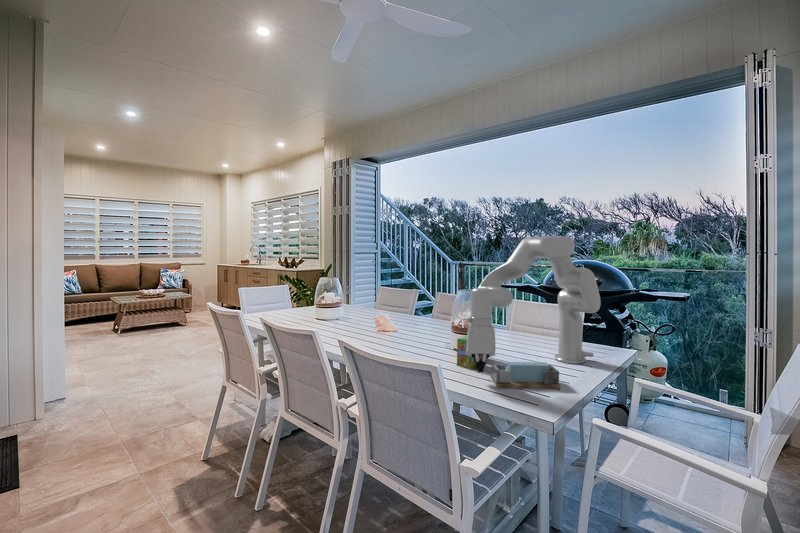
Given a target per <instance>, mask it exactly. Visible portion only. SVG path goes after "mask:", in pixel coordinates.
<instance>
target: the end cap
mask: <svg viewBox="0 0 800 533" xmlns="http://www.w3.org/2000/svg"><path fill="white" fill-rule="evenodd" d="M491 375H492V376H493V378H494V379H495V381H496V383H511V371H510V370H508V369H507V364H505V363H501V364H500V363H492V364H491Z"/></svg>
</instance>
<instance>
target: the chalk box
mask: <svg viewBox="0 0 800 533" xmlns="http://www.w3.org/2000/svg"><path fill="white" fill-rule="evenodd" d="M466 340H467V335H465V336H462V337H460V338H459V337H458V338H457V339H456V342H457V343H456V366H460V367H463V368H467V369H469V370H473V371H474V370H476V368H475V364H476V360H475V359H474V358H473V357H472V356H468V355H466V354H465V352H466ZM478 355H479V360H480V359H481V355H482V354H478ZM485 366H487V360H486V361H485V362H484V367H485Z"/></svg>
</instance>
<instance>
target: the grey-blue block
mask: <svg viewBox="0 0 800 533" xmlns="http://www.w3.org/2000/svg"><path fill="white" fill-rule="evenodd" d="M549 365H550V364H549V363H548V362H545V361H544V362H542V361H541V362H540V361H538V362H535V361H532V362H531V361H507V370H510V371H511V381H513V382H543V381H544V371H550V366H549Z"/></svg>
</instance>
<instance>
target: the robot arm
mask: <svg viewBox="0 0 800 533" xmlns="http://www.w3.org/2000/svg"><path fill="white" fill-rule="evenodd" d="M575 246H576V245H575V241H574V240H573V239H572V238H571V237H570V236H567V235H557V236H556V235H554V236H553V235H552V236H551V235H549V236H548V235H547V236H546V235H545V236H542V235H541V236H528V237H527V236H526V237H524V238H523V239H521V241H520V242H519V243H518V245H517V246H516V247H515V250H513V252H512V254H511V255H510V257H509V258H507V260H506V262H505V263H503V264H502V265H499V266H498V267H497V268H495V269H494V270H492V271H491V272H489V273H488V274H487V275H486V276H485V277H484V278H483V280H482V281H481V283H480V284H479V286H478V287H474V288H473V289H471V294H470V295H471V298H470V317H469V318H468V317H467V318H466V322H467V323H470V324H468V327H467V331H466V336H467V340H466V352H465V354H466V355H468V356H472V357H473V358H474V359H475V360H476V364H475V368H476V369H475V370H476V371H477V373H483V372H484V370H485V366H484V362H485V361H486V362H487V360H488V359H489V358H492V357H495V356H496V349H497V348H496V330H495V326H494V325H493V324H492V323H493V317H492V316H493V308H498V309H499V308H501V309H503V308H507V307H509V306H510V305H511V304H512V302H513V300H514V299H513V298H514V296H513V293H512V291H511V290H510V289H508V288H507V287H503V286H502V287H501V285H503V284H506V283H508V282H511V281H514V280H517V279H520V278H522V277H524V276H525V275H526V274H527V273H528V271H529V270H530V268H531V267H532V265H533V264H534V262H535V260H537V259H544V260H545V259H547V260H548V262H549V264H550V266H551V269H552V273H553V276H554V281H555V283H556V285H557V286H558V288H561V290H560V291H559V292H558V294H557V305H558V313H559V317H558V318H559V319H558V320H559V324H558V353H557V354H555V355H554V359H555V360H556V361H558V362H561V363H565V364H574V365H575V364H577V365H580V364H584V363H586V358H587V357H589V358H592V357H594V353H593V351H591V352H590V351H586V350H585V351H584V350H583V332H584V331H583V330H584V328H583V327H584V321H583V318H582V315H581V313H586V314H595V313H597V312H598V311H599V310H600V308H601V305H602V303H601V296H600V291H599V287H598V283H597V279H596V276H595V274H594V272H593V271H592V270H591V269H589V268H587V267H576V266H575V265H574V263H573V260H572V257H571V256H572V255H573V253H574V252H575V248H576V247H575ZM478 354H482V355H481V359H480V360H479V355H478Z"/></svg>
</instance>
